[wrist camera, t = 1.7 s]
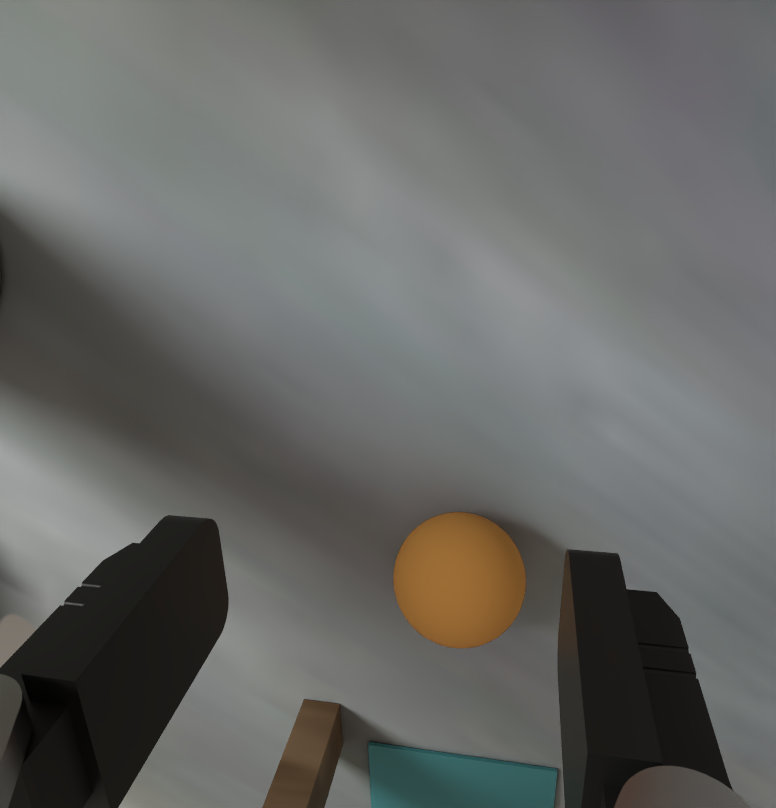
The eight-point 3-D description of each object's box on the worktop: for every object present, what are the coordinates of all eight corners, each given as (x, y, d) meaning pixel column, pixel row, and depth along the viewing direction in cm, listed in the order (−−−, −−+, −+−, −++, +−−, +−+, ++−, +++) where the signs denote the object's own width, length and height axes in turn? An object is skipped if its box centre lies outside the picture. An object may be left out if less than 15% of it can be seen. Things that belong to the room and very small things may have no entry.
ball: (405, 584, 32) (383, 669, 27) (403, 484, 30) (379, 556, 25) (523, 596, 31) (522, 686, 26) (529, 493, 29) (529, 570, 24)
